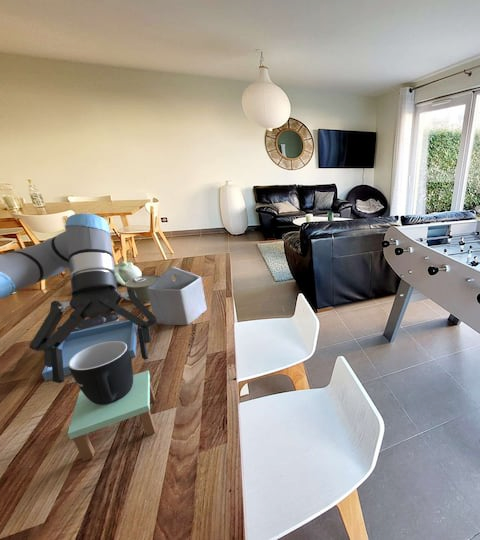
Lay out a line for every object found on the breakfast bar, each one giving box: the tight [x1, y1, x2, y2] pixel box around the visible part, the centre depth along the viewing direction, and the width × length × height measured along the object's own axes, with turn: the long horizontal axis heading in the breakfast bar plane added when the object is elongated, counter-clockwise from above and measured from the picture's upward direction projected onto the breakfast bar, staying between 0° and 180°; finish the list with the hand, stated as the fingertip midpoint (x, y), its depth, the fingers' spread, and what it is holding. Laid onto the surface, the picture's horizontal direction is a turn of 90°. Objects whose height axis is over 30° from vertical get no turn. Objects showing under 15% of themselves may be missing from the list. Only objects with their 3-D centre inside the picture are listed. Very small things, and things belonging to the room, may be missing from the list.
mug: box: [68, 341, 134, 405], centre depth 58 cm, size 12×9×10 cm
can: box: [124, 274, 161, 304], centre depth 116 cm, size 12×12×7 cm
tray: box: [41, 319, 139, 382], centre depth 85 cm, size 19×20×2 cm
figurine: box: [114, 259, 143, 286], centre depth 124 cm, size 10×16×10 cm, turn 134°
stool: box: [67, 370, 156, 462], centre depth 61 cm, size 12×12×8 cm
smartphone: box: [56, 311, 120, 332], centre depth 96 cm, size 8×1×15 cm
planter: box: [147, 266, 208, 326], centre depth 98 cm, size 16×8×19 cm, turn 131°
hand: (104, 369), depth 59 cm, fingers open, 13 cm apart
